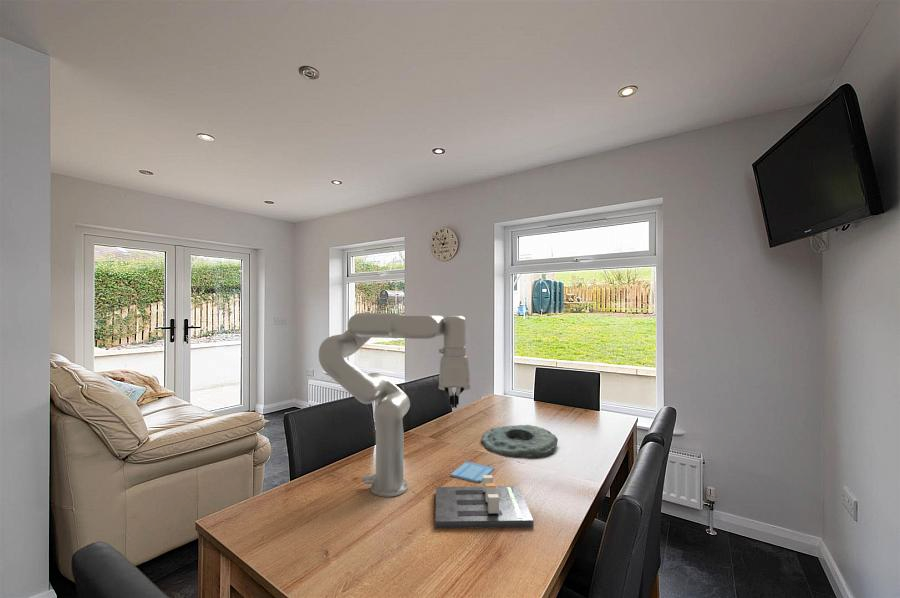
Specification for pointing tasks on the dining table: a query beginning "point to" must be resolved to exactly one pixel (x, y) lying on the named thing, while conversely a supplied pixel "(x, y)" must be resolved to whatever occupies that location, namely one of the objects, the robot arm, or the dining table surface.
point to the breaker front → (493, 503)
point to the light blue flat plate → (472, 472)
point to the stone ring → (534, 446)
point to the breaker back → (487, 480)
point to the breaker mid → (489, 490)
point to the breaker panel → (480, 508)
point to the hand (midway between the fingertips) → (454, 406)
